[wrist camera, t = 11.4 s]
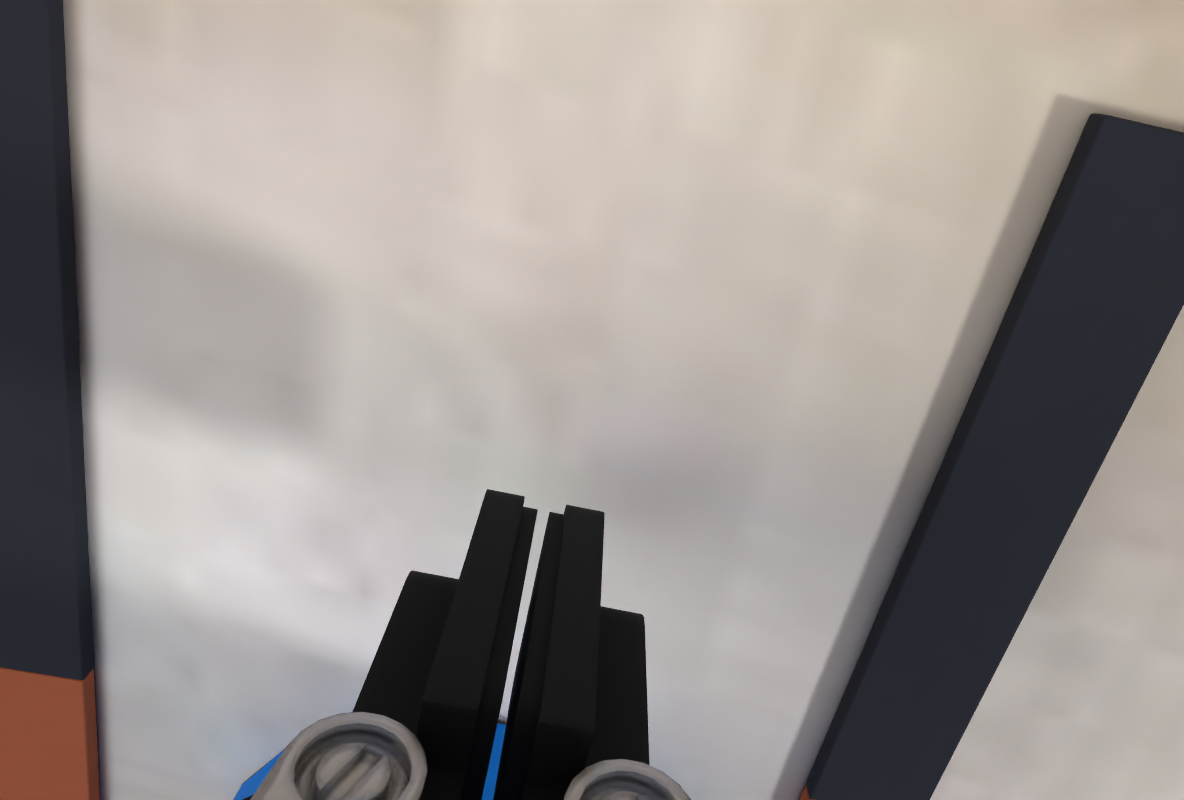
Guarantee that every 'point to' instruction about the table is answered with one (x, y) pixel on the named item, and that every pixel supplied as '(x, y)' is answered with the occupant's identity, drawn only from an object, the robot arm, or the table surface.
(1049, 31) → the table surface
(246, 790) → the thermos
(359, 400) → the table surface
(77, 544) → the lane
